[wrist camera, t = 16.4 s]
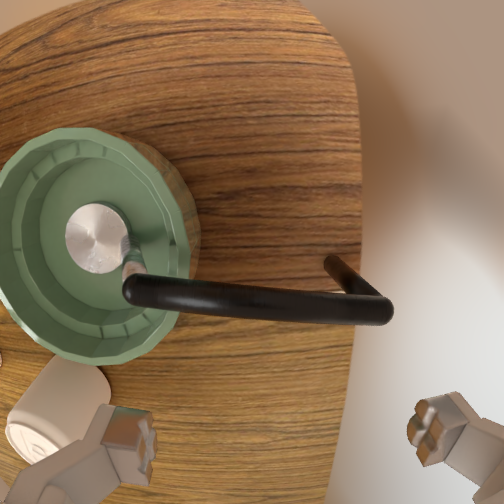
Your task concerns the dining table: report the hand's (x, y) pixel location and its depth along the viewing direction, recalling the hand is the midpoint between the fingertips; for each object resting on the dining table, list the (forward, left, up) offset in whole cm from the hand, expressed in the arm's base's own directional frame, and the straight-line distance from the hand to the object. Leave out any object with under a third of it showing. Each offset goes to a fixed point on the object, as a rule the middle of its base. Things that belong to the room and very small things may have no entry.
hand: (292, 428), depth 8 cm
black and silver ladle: (0, -4, -19) cm, 20 cm away
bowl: (0, -13, -20) cm, 24 cm away
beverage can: (+17, -17, -20) cm, 32 cm away
